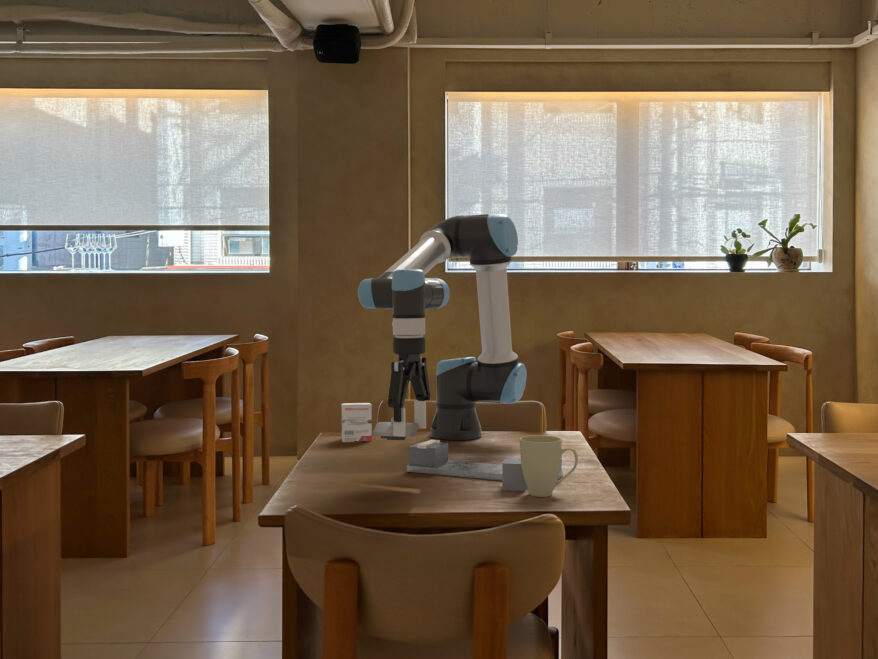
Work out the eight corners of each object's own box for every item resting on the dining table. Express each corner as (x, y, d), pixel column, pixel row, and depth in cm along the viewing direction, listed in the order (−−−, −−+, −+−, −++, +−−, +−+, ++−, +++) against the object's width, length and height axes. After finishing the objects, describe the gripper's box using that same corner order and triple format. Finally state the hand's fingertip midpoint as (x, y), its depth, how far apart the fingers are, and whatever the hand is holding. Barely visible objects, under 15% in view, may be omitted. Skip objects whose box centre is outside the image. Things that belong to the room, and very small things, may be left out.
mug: (534, 502, 174) (535, 444, 174) (511, 491, 183) (512, 436, 183) (579, 496, 179) (580, 440, 178) (555, 487, 188) (555, 433, 187)
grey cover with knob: (414, 444, 190) (415, 422, 190) (371, 442, 191) (372, 420, 191) (418, 435, 200) (419, 414, 200) (377, 434, 201) (378, 413, 200)
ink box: (370, 442, 246) (370, 401, 246) (372, 445, 241) (371, 404, 241) (341, 442, 245) (341, 402, 245) (342, 445, 240) (341, 404, 240)
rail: (424, 464, 214) (424, 438, 213) (562, 476, 199) (562, 448, 199) (407, 471, 204) (407, 444, 204) (550, 485, 190) (550, 456, 189)
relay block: (504, 485, 190) (504, 459, 190) (526, 486, 189) (526, 459, 189) (502, 490, 185) (502, 463, 185) (525, 491, 184) (525, 464, 184)
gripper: (415, 333, 206) (416, 423, 207) (370, 339, 185) (372, 439, 186) (443, 333, 203) (444, 425, 204) (401, 340, 182) (402, 441, 183)
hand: (410, 431), depth 195 cm, fingers closed on grey cover with knob, 10 cm apart
